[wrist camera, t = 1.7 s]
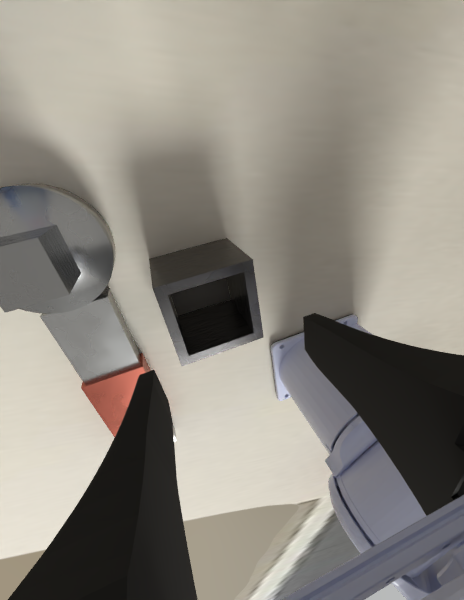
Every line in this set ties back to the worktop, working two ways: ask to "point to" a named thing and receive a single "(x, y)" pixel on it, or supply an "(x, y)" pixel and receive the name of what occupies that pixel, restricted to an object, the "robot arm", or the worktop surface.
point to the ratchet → (69, 289)
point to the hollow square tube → (214, 319)
